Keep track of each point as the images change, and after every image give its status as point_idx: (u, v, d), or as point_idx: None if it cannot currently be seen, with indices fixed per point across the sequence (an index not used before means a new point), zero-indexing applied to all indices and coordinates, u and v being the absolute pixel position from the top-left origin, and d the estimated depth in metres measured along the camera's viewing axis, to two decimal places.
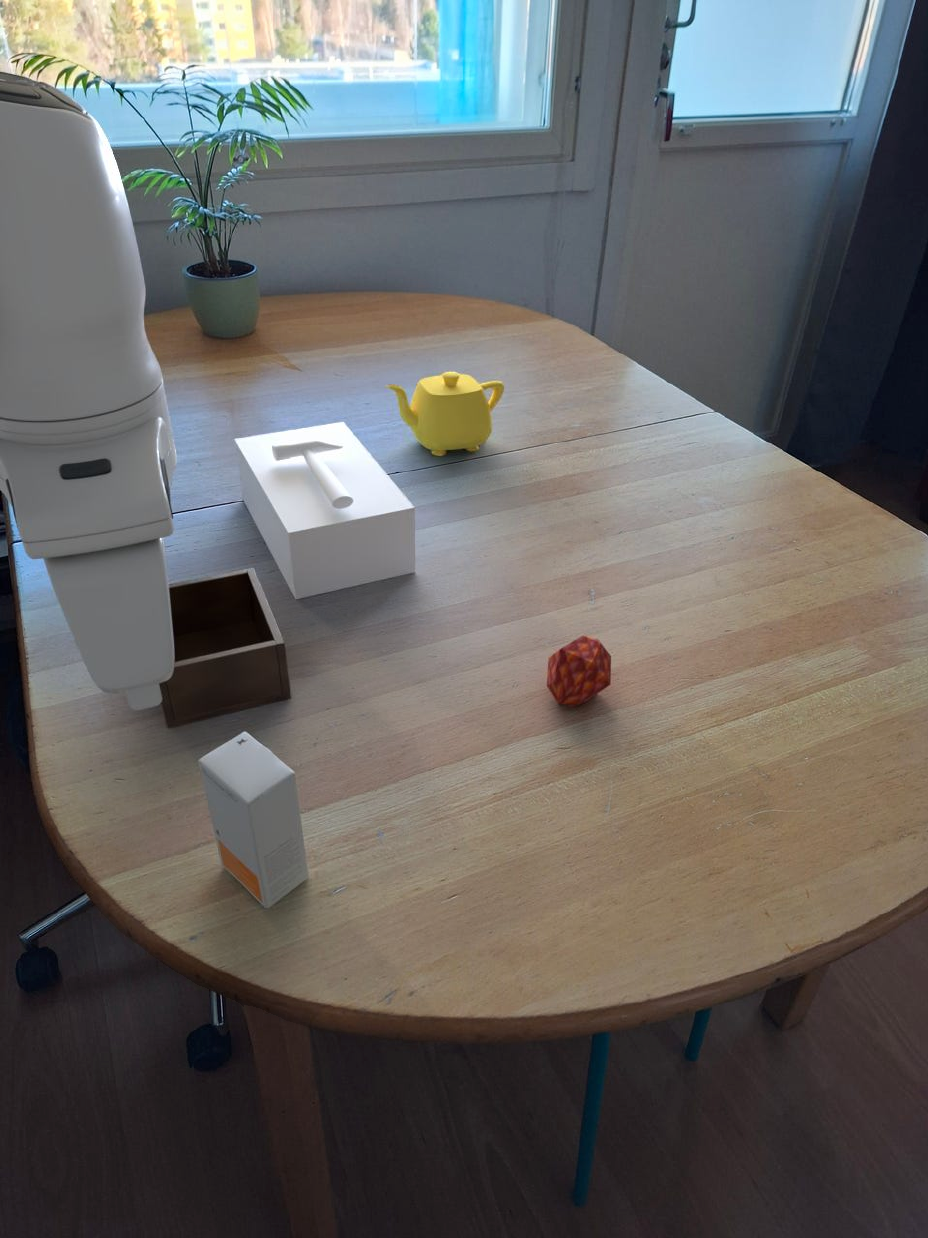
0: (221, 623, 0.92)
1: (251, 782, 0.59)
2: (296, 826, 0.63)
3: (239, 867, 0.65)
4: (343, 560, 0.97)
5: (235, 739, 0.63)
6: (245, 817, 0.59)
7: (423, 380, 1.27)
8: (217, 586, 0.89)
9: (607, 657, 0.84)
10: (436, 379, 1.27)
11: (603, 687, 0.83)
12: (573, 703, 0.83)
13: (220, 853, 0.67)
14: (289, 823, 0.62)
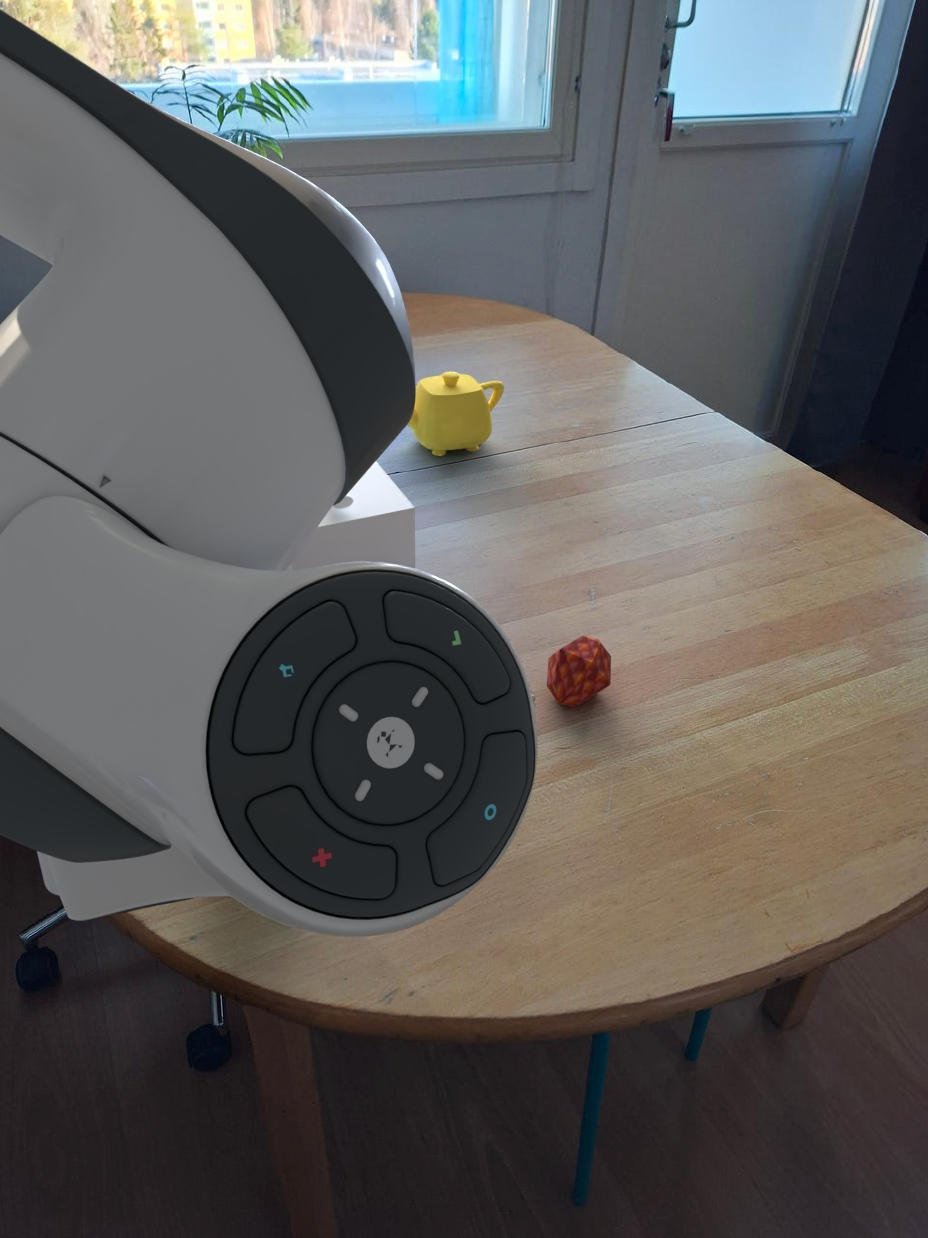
0: None
1: None
2: None
3: None
4: (343, 560, 0.97)
5: None
6: None
7: (423, 380, 1.27)
8: None
9: (607, 657, 0.84)
10: (436, 379, 1.27)
11: (603, 687, 0.83)
12: (573, 703, 0.83)
13: None
14: None
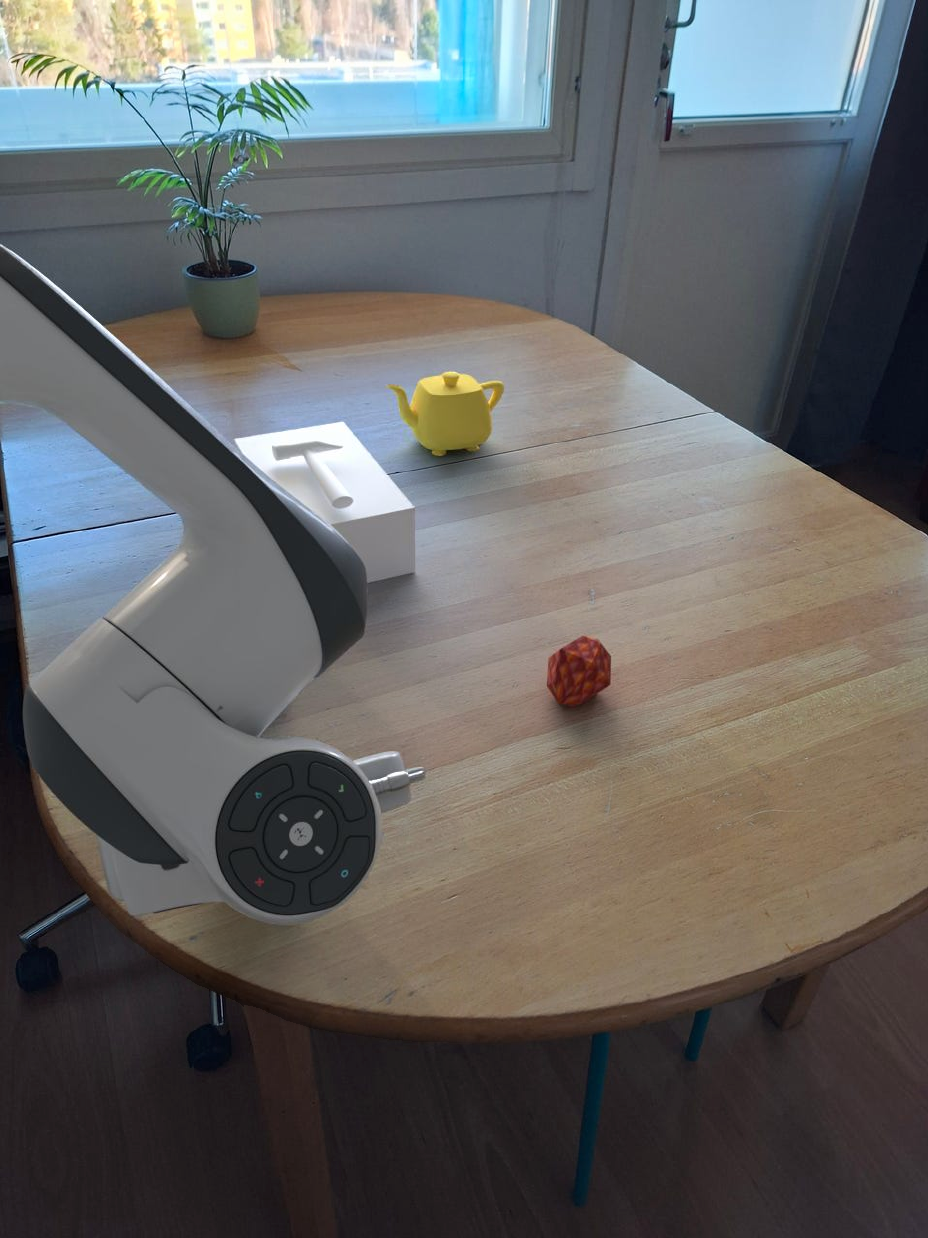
0: None
1: None
2: None
3: None
4: None
5: None
6: None
7: (423, 380, 1.27)
8: None
9: (607, 657, 0.84)
10: (436, 379, 1.27)
11: (603, 687, 0.83)
12: (573, 703, 0.83)
13: None
14: None
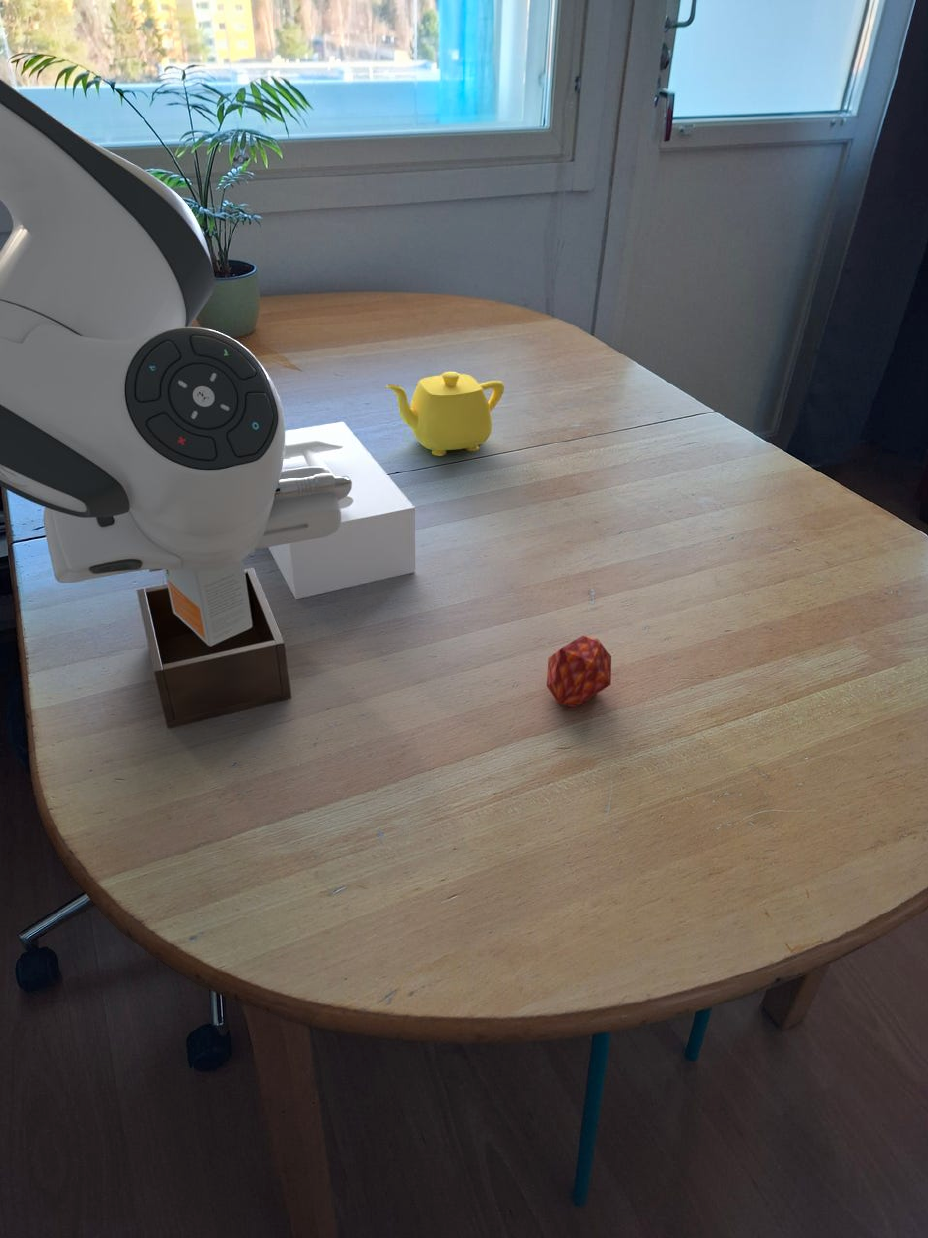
0: None
1: None
2: (237, 563, 0.68)
3: (186, 605, 0.69)
4: (343, 560, 0.97)
5: None
6: None
7: (423, 380, 1.27)
8: None
9: (607, 657, 0.84)
10: (436, 379, 1.27)
11: (603, 687, 0.83)
12: (573, 703, 0.83)
13: (171, 598, 0.71)
14: None
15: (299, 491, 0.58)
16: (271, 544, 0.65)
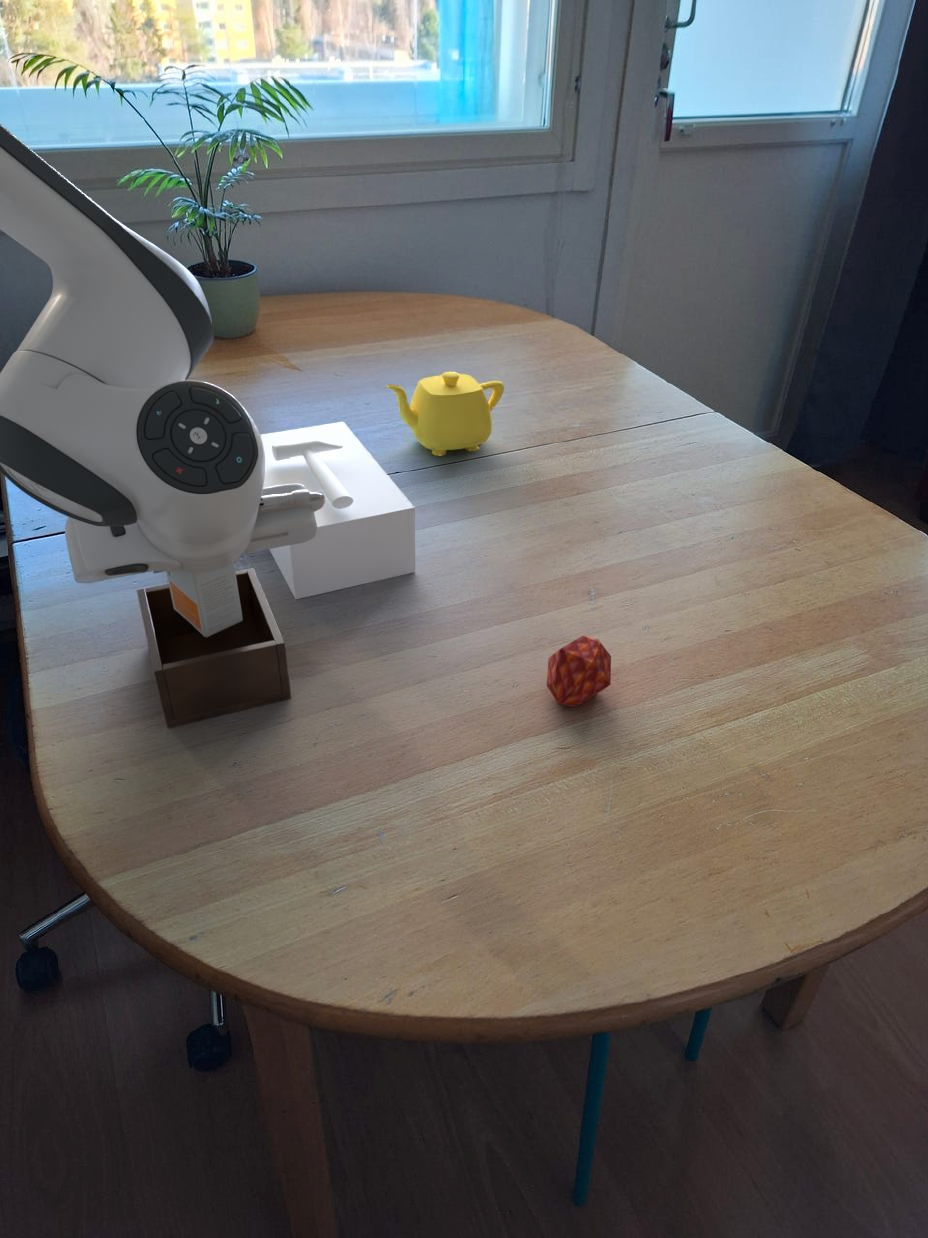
0: None
1: None
2: (229, 565, 0.79)
3: (185, 602, 0.80)
4: (343, 560, 0.97)
5: None
6: None
7: (423, 380, 1.27)
8: None
9: (607, 657, 0.84)
10: (436, 379, 1.27)
11: (603, 687, 0.83)
12: (573, 703, 0.83)
13: (172, 595, 0.82)
14: None
15: (279, 505, 0.69)
16: (257, 549, 0.76)
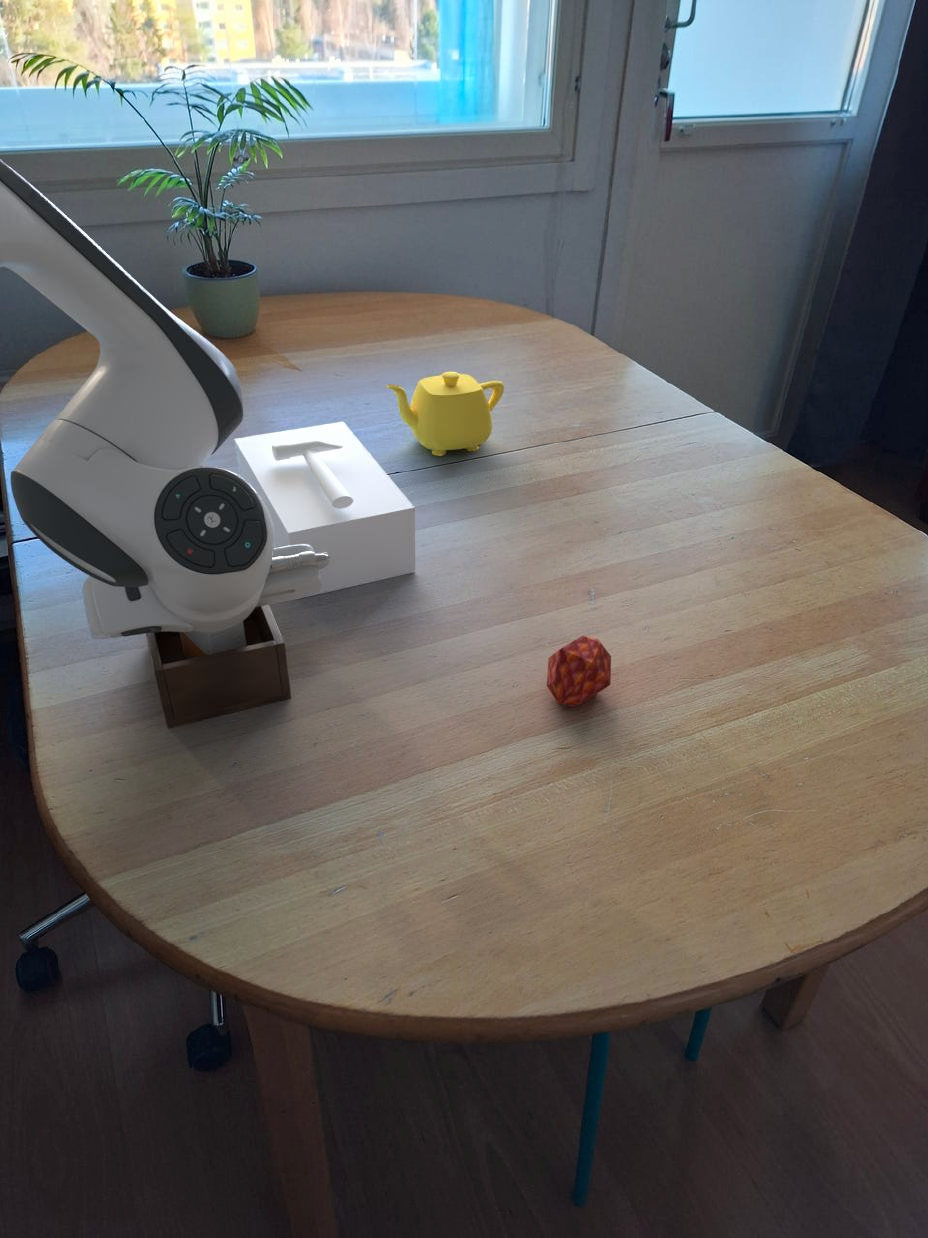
0: None
1: None
2: None
3: (195, 651, 0.84)
4: (343, 560, 0.97)
5: None
6: None
7: (423, 380, 1.27)
8: None
9: (607, 657, 0.84)
10: (436, 379, 1.27)
11: (603, 687, 0.83)
12: (573, 703, 0.83)
13: (183, 643, 0.86)
14: None
15: (286, 567, 0.73)
16: (265, 604, 0.79)
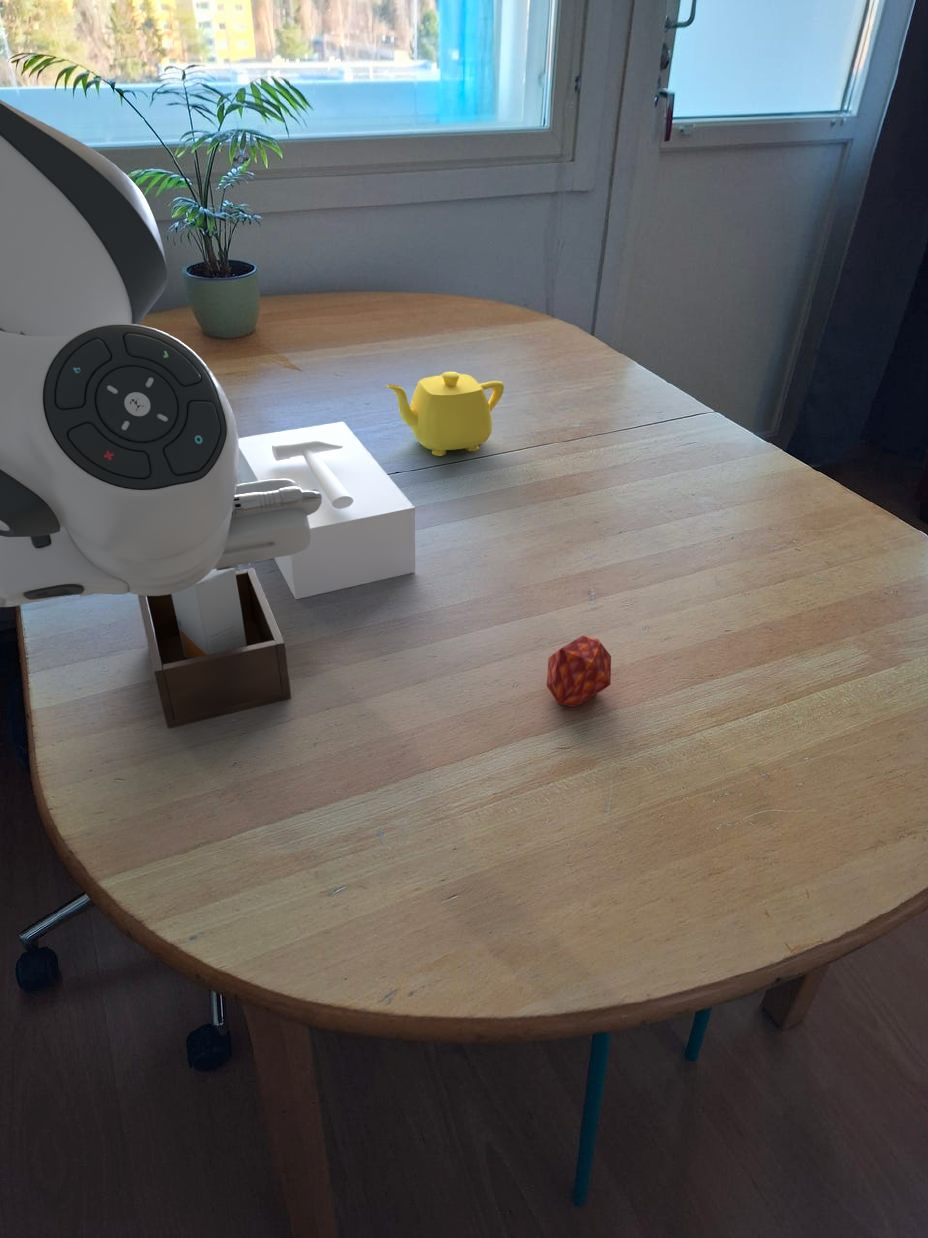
0: None
1: None
2: (237, 617, 0.82)
3: (195, 651, 0.84)
4: (343, 560, 0.97)
5: None
6: (194, 597, 0.78)
7: (423, 380, 1.27)
8: None
9: (607, 657, 0.84)
10: (436, 379, 1.27)
11: (603, 687, 0.83)
12: (573, 703, 0.83)
13: (183, 643, 0.86)
14: (231, 612, 0.81)
15: (262, 506, 0.53)
16: (234, 563, 0.59)
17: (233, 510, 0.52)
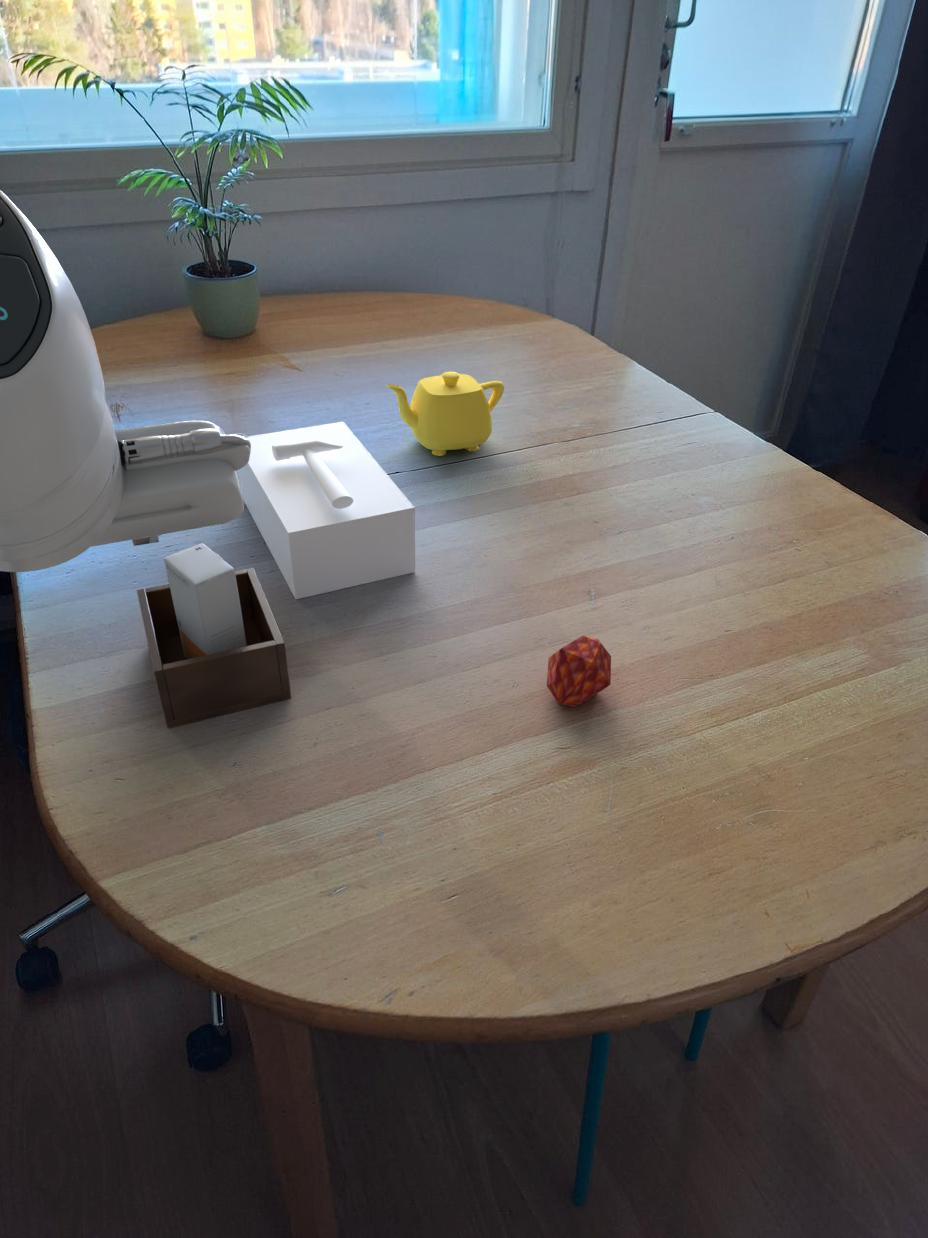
0: None
1: (200, 572, 0.78)
2: (237, 617, 0.82)
3: (195, 651, 0.84)
4: (343, 560, 0.97)
5: (194, 547, 0.82)
6: (194, 597, 0.78)
7: (423, 380, 1.27)
8: None
9: (607, 657, 0.84)
10: (436, 379, 1.27)
11: (603, 687, 0.83)
12: (573, 703, 0.83)
13: (183, 643, 0.86)
14: (231, 612, 0.81)
15: (166, 454, 0.40)
16: (146, 533, 0.46)
17: (126, 458, 0.39)
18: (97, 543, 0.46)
